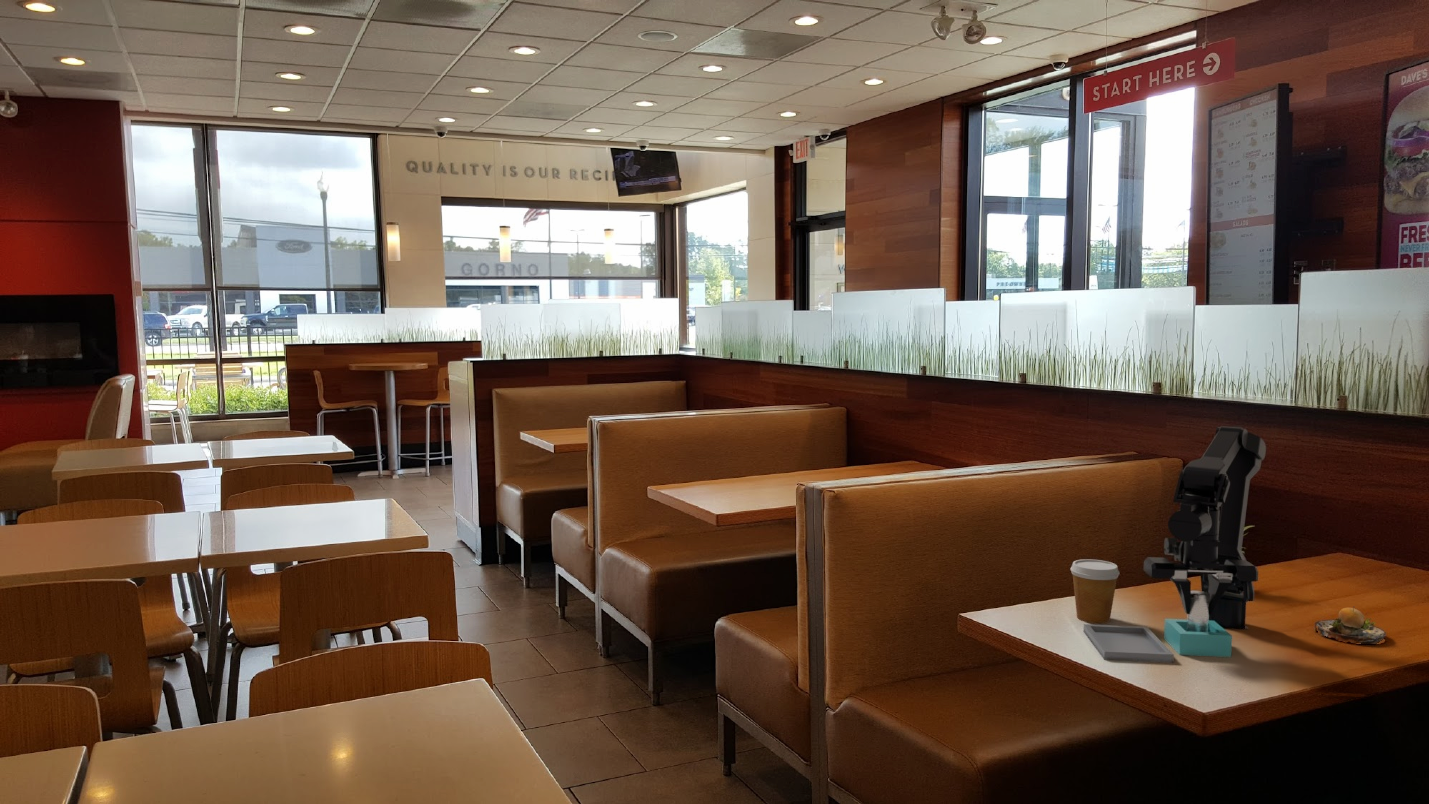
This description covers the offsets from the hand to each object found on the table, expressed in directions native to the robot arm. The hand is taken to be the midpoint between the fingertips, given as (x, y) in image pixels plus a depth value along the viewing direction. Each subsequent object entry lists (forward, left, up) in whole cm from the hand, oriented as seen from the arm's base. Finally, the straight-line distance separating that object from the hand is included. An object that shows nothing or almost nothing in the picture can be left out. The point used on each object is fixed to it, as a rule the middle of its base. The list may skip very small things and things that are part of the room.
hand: (1197, 613), depth 183 cm
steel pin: (0, 0, -6) cm, 6 cm away
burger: (-33, -13, -8) cm, 36 cm away
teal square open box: (0, 0, -7) cm, 7 cm away
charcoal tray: (+13, +1, -7) cm, 15 cm away
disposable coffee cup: (+15, -16, -7) cm, 23 cm away
